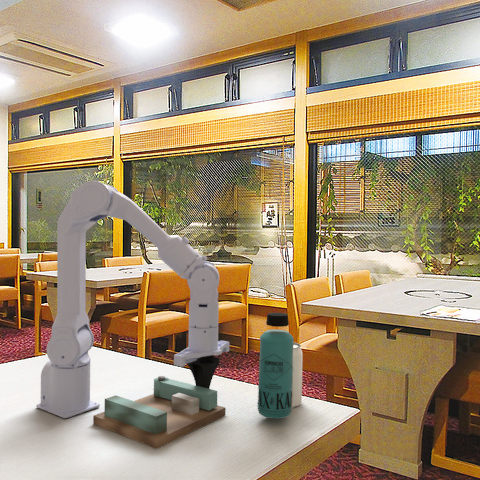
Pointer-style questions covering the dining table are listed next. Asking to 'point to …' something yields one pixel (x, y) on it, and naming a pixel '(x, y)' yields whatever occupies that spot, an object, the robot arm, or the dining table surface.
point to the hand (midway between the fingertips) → (202, 394)
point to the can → (297, 375)
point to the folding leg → (185, 391)
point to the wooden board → (155, 418)
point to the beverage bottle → (275, 369)
